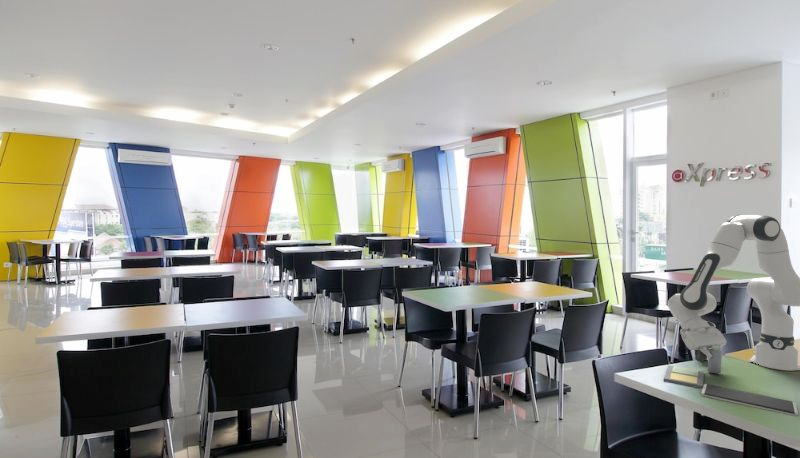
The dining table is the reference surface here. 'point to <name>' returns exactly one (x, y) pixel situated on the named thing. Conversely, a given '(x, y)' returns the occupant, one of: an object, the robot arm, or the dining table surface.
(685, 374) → the colour board
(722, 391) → the grey tray
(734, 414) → the dining table surface
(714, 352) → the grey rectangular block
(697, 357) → the beverage cup
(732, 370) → the dining table surface
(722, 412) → the dining table surface
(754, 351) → the robot arm
